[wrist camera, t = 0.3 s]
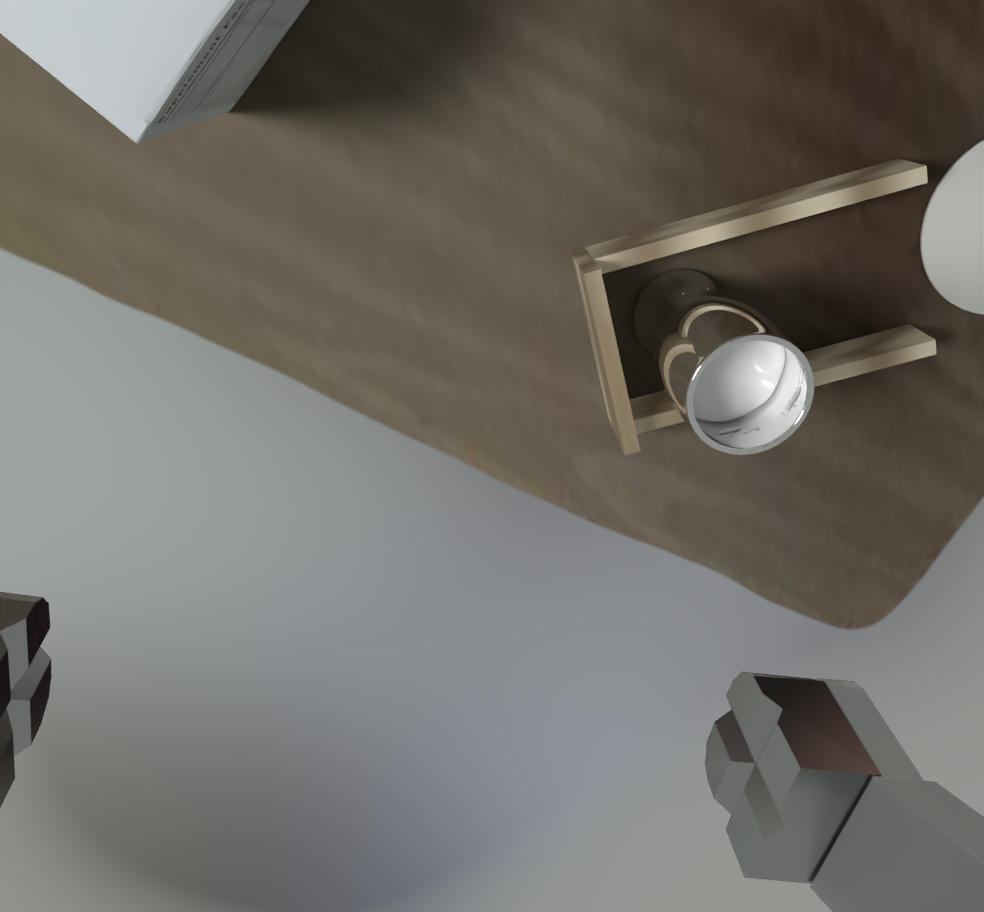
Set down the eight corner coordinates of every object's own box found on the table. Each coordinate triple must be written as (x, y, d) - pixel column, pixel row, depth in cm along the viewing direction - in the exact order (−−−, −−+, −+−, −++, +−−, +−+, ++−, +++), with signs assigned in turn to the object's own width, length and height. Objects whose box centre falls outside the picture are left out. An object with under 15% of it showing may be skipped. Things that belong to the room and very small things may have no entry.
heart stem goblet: (745, 334, 58) (837, 422, 45) (650, 381, 60) (711, 480, 46) (707, 242, 56) (793, 305, 42) (608, 293, 57) (661, 371, 43)
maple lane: (898, 158, 54) (949, 171, 49) (910, 337, 59) (957, 367, 54) (569, 251, 56) (583, 273, 50) (608, 418, 61) (625, 455, 55)
